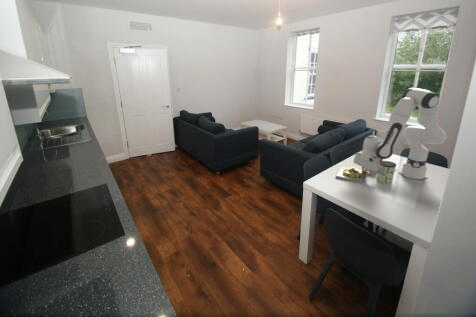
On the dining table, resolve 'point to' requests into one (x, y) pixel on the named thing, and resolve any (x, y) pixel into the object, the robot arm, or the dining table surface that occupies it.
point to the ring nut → (352, 174)
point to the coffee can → (386, 171)
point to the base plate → (353, 179)
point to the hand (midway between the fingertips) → (363, 172)
